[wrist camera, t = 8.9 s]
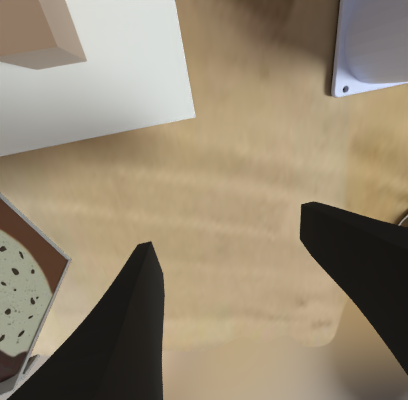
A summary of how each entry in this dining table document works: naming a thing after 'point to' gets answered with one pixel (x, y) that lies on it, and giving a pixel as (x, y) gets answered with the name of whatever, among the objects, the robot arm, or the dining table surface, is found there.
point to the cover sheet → (88, 70)
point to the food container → (24, 290)
